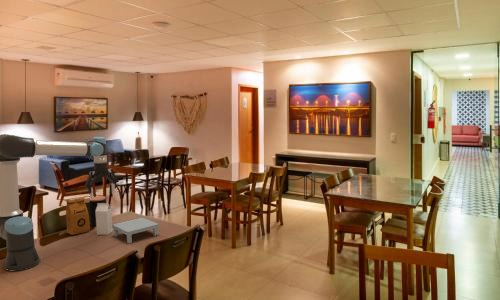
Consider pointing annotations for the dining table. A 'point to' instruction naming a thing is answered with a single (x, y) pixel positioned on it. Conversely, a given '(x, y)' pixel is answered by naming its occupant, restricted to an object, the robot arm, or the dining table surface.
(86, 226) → the coffee package
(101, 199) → the coffee jar
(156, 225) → the grey square footed tray
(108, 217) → the milk carton
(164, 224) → the dining table surface
